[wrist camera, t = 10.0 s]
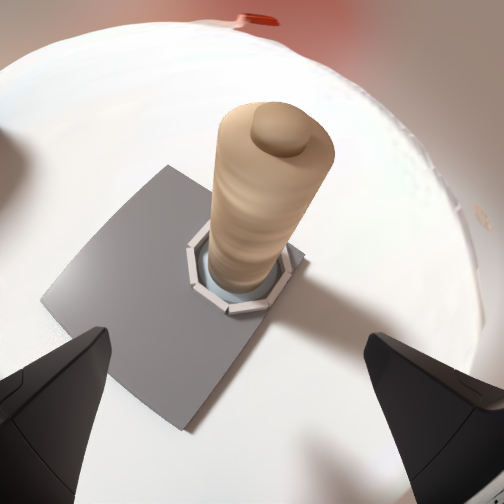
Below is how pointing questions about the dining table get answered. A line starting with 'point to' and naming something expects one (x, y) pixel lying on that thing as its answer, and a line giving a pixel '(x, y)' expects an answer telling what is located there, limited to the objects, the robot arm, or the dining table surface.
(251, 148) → the beige wooden pepper mill
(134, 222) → the baseplate
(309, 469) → the dining table surface
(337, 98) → the dining table surface
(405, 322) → the dining table surface
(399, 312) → the dining table surface
